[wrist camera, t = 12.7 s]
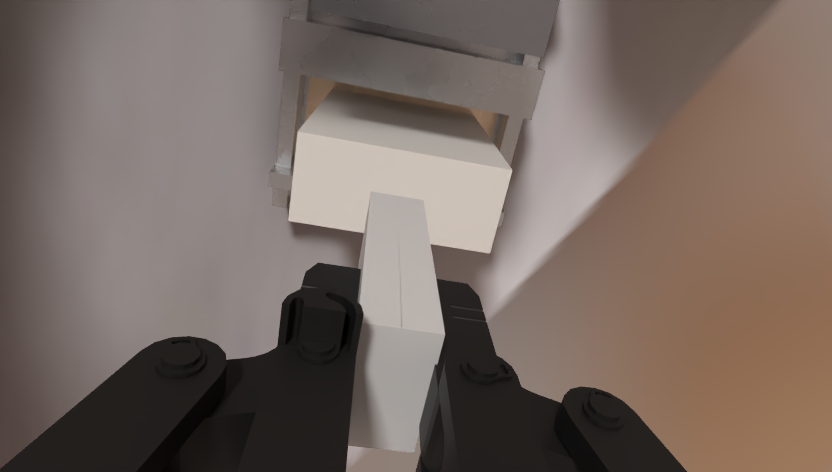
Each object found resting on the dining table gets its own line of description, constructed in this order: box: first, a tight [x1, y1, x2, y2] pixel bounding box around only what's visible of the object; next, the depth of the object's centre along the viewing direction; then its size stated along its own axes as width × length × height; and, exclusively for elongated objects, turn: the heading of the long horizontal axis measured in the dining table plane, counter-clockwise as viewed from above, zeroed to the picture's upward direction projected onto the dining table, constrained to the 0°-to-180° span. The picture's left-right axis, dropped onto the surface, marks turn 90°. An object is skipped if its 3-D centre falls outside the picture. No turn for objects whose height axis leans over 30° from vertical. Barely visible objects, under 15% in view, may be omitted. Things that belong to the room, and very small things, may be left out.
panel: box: [288, 88, 513, 254], centre depth 25 cm, size 8×4×11 cm, turn 79°
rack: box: [268, 0, 560, 227], centre depth 24 cm, size 13×16×12 cm
